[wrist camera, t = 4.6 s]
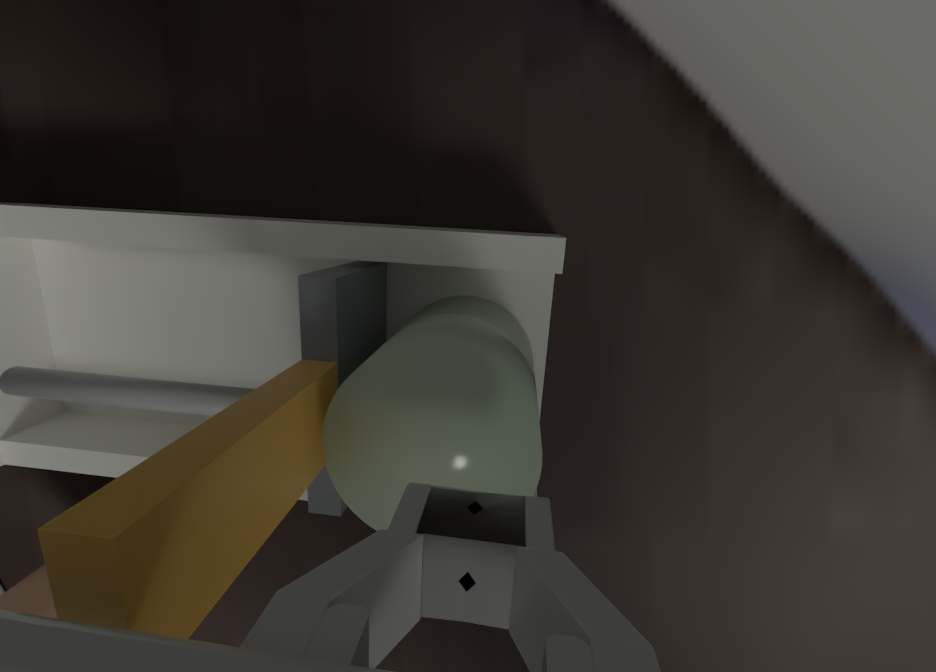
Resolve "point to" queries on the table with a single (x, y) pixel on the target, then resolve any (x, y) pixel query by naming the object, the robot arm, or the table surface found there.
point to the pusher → (206, 469)
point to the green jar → (437, 411)
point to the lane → (210, 308)
